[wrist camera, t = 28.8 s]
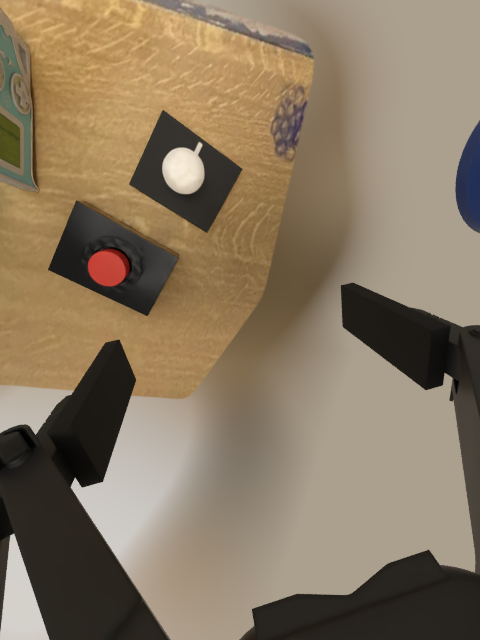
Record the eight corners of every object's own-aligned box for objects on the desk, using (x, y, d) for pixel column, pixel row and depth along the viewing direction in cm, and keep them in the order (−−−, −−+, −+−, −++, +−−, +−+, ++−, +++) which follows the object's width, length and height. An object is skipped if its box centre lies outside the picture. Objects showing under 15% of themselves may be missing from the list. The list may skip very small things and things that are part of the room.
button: (135, 259, 36) (131, 262, 34) (121, 287, 37) (117, 292, 35) (102, 242, 35) (96, 244, 32) (89, 271, 36) (81, 275, 33)
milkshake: (212, 172, 38) (218, 160, 28) (189, 204, 39) (188, 202, 29) (185, 147, 36) (182, 125, 27) (161, 181, 37) (151, 171, 28)
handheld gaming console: (42, 60, 32) (41, 193, 35) (15, 52, 32) (16, 188, 35) (-28, -35, 22) (-21, 167, 25) (-70, -49, 21) (-58, 160, 24)
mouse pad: (241, 169, 38) (242, 168, 38) (207, 232, 41) (207, 232, 40) (163, 110, 34) (162, 109, 34) (129, 184, 37) (129, 184, 36)
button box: (179, 254, 41) (178, 260, 37) (150, 309, 44) (145, 320, 39) (85, 201, 37) (70, 199, 32) (58, 265, 39) (40, 272, 34)
